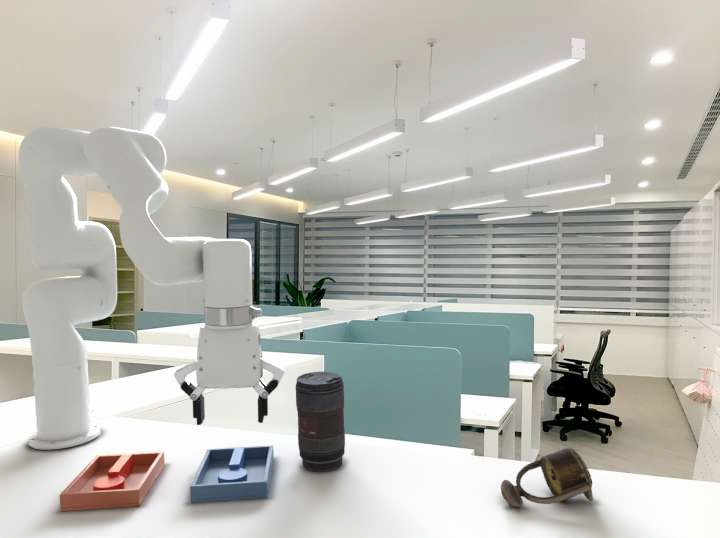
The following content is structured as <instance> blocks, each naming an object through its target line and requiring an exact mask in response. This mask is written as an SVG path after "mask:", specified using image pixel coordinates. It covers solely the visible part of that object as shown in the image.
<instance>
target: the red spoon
mask: <svg viewBox="0 0 720 538" xmlns="http://www.w3.org/2000/svg"><path fill="white" fill-rule="evenodd" d="M132 470H133V465H132V455H122V456H121V457H120V458H119V460H118V461H117V462H116V463H115V464H114V466H113V467H112V468H111V469H110V470H109V472H108V476H107V477H103V478H100V479H98V480H96V481H95V482H94V483H93V491H102V490H118V489H125V479H126V478H127V477H128V475H129V474H130V472H131V471H132Z"/></svg>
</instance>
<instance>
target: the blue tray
mask: <svg viewBox="0 0 720 538" xmlns="http://www.w3.org/2000/svg"><path fill="white" fill-rule="evenodd" d="M235 448H244V457H245V463H244V467H243V469H245V470H246V471H247V481H246V482H230V483H218V474H219V473H220V472H221V471H223V470H226V469H229V464H230V461H231V458H232V455H233V452H234V449H235ZM274 457H275V456H274V445H272V444H271V445H255V446H240V447H238V446H237V447H219V448H207V450H206V452H205V454H204V456H203V457H202V459H201V462H200V464H199V467H198V469H197V471H196V472H195V475H194V477H193V479H192V481H191V484H190V486H189V493H190V494H189V495H190V503H191V504H194V503H195V504H197V503H208V502H209V503H211V502H226V501H238V500H239V501H241V500H256V499H257V500H258V499H267V498H268V496H269V490H270V485H271V478H272V471H273V466H274V461H275V460H274V459H275V458H274Z"/></svg>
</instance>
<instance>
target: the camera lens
mask: <svg viewBox="0 0 720 538" xmlns="http://www.w3.org/2000/svg"><path fill="white" fill-rule="evenodd" d="M344 383H345V382H344V381H343V376H342V375H341V374H339V373H338V372H333V371H312V372H307V373H303V374H301V375H299V376H297V377H296V382H295V405H296V406H295V407H296V411H297V429H298V430H297V431H298V432H297V442H298V443H297V444H298V451H299V456H300V459H301V461H302V466H303V467H304V468H305V469H306V470H309V471H314V472H329V471H332V470H335V469H338V468H339V467H341V466H342V464H343V456H344V455H345V453H346V452H345V450H346V449H345V448H346V430H345V414H344V413H345V412H344V410H345V384H344Z"/></svg>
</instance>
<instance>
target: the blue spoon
mask: <svg viewBox="0 0 720 538" xmlns="http://www.w3.org/2000/svg"><path fill="white" fill-rule="evenodd" d="M234 448H235V449H234V452H233V455H232V458H231V461H230V464H229V469H226V470H223V471H221V472H220V473H219V474H218V483H230V482H246V481H247V471H246V470H245V469H243V467H244V463H245V457H244V448H236V447H234Z"/></svg>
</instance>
